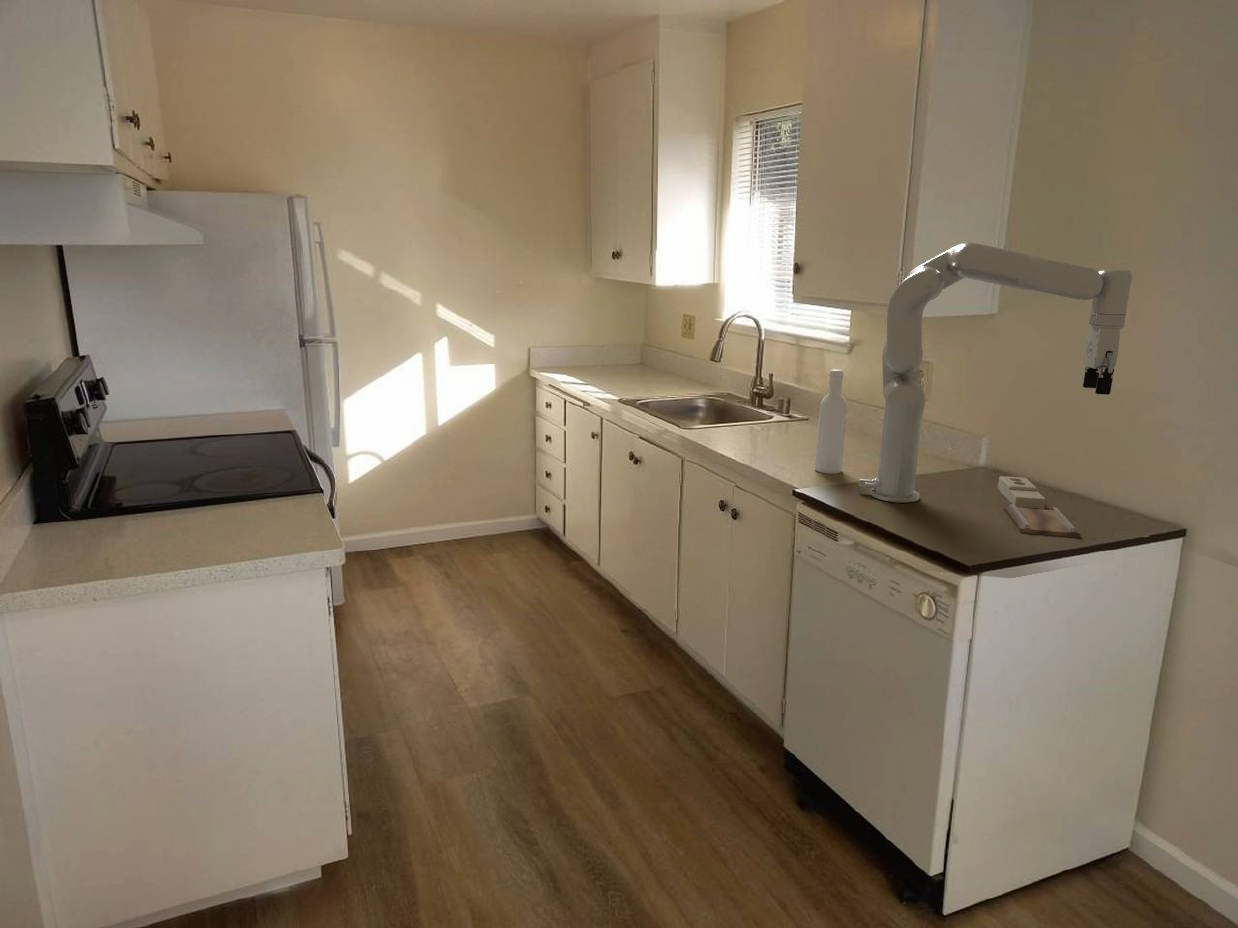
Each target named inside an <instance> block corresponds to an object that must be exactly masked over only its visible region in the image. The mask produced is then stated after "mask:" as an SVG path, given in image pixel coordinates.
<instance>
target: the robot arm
mask: <svg viewBox="0 0 1238 928" xmlns="http://www.w3.org/2000/svg"><path fill="white" fill-rule="evenodd" d="M965 278H966V279H971V280H975V281H980V282H984V283H987V284H988V283H989V284H994V285H999V286H1003V287H1008V288H1013V289H1017V290H1022V291H1023V290H1025V291H1033V292H1034V291H1035V292H1041V293H1044V294H1050V295H1055V296H1059V297H1064V298H1069V299H1073V300H1077V301H1089V300H1092V301H1091V308H1090V315H1089V322H1088V327H1089V331H1088V334H1087V337H1086V338H1087V340H1086V343H1085V347H1084V354H1083V356H1082V357H1083V358H1082V363H1083V364H1084V365H1085V368H1084V377H1083V384H1082V387H1083V388H1085V389H1095V391H1094V392H1095V393H1094V394H1096V395H1108V396H1109V395H1111V391H1112V384H1113V379H1114V373H1115V367H1116V365H1117V362H1118V361H1117V360H1118V355H1119V346H1120V340H1121V339H1120V338H1121V336H1120V335H1121V329H1124V328H1125V322H1126V316H1127V310H1128V304H1129V299H1130V291H1131V287H1132V281H1133V280H1132V279H1133V274H1132V272H1131V271H1130V270H1128V269H1123V268H1122V269H1120V268H1119V269H1117V268H1104V269H1093V268H1089V267H1086V266H1080V265H1077V264H1071V263H1066V262H1061V261H1057V260H1052V259H1048V258H1043V257H1040V256H1037V255H1033V254H1030V253H1026V252H1021V251H1016V250H1010V249H1005V248H1000V247H996V246H993V245H992V246H991V245H986V244H981V243H978V242H976V243H975V242H962V243H958V244H957V245H955V246H953V247H951V248H950V249H947V250H946V251H944V252H942V253H940V254H939V255H936V256H935V257H933V258H931V259H930V260H927V261H926V262H924V263H922V264H920V265H918V266H917V267H915V268H913V269H912V270H911V271H910V272H909V273H908V274H907V276H906V277H905V279H904V280H902V281H901V283H899V285H898V286H896V288H895V290H894V291H893V293H892V295H891V297H890V299H889V303H888V306H887V314H886V342H884V343H885V344H884V346H883V349H882V359H881V361H882V393H883V399H884V401H885V404H884V405H885V408H884V414H883V415H884V416H883V421H882V422H883V423H882V429H881V442H880V443H881V444H880V452H879V453H880V454H879V464H878V472H877V473H878V474H877V475H876V476H875V478H871V479H867V478H859V482H858V483H859V484H858V485H859V486H860V487H864V488H870V493H869V494H870V495H871V496H872V497H873V498H875V499H877V500H881V501H884V502H890V503H891V502H892V503H913V502H917V501H919V500H920V497H921V495H920V493H919V492H918V491H916V490H915V486H916V475H917V467H918V460H919V459H918V458H919V447H920V438H921V431H922V423H923V417H924V413H925V406H926V396H925V391H924V389H923V387H922V385H921V381H920V379H921V377H920V372H921V371H920V366H921V364H922V363H923V357H924V351H923V338H922V337H923V336H922V335H923V332H922V329H923V313H924V310H925V307H926V306H927V305H928V303H929V302H931V301H933V300H935V299H936V298H937V297H939V296H940V294H941V293H942V291H943V290H945V289H948V288H949V287H951V286H952V285H954V284H955V283H957V282H960V281H961V280H963V279H965Z"/></svg>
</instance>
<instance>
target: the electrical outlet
mask: <svg viewBox="0 0 1238 928" xmlns="http://www.w3.org/2000/svg"><path fill="white" fill-rule="evenodd" d="M997 490H999V492H1000V493H1001V494H1002V495H1003V496H1004V497H1005V499H1007V501H1008V502H1009V503H1010V502H1011V503H1012V504H1014V505H1015V506H1016V507H1017V508H1030V509H1033V508H1038V509H1043V510H1045V506H1046V498H1045V497H1044V495H1042V494H1041V493H1040V492H1039V490H1038V487H1037V486H1035V484H1033V482H1031V480H1029V479H1028V478H1027V477H1020V476H1007V475H1006V476H1003V475H1002V476H1001V475H1000V476H999V477H998V483H997ZM1011 503H1010V504H1011Z"/></svg>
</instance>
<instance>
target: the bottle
mask: <svg viewBox="0 0 1238 928" xmlns="http://www.w3.org/2000/svg"><path fill="white" fill-rule="evenodd" d="M828 376H829V381H828V382H829V383H828V393H827V394H826V395H825V396H823V398H822V399H821V402H820V404H819V412H818V413H819V415H818V416H819V417H818V426H817V427H818V428H817V441H816V453H815V454H816V455H815V459H814V461H815V462H814V465H815V466H814V470H815V471H816V472H819V473H821V474H829V475H831V474H832V475H833V474H834V475H835V474H836V475H837V474H840V473H842V471H843V467H844V466H843V465H844V451H845V439H846V429H847V428H846V427H847V418H848V417H847V416H848V408H849V407H848V402H847V399H846V398H845V397H844V396H843V395H842V389H843V388H842V387H843V377H844V370H842V369H838V368H833V369H830V371H829V375H828Z"/></svg>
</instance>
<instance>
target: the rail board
mask: <svg viewBox="0 0 1238 928" xmlns="http://www.w3.org/2000/svg"><path fill="white" fill-rule="evenodd" d="M1003 511H1004V512H1005V514H1006V515H1007V517H1008V518H1009V519H1010V521H1011V522H1012V523H1013V525H1014V526H1015V528H1016V529H1017V531H1018V533H1023V534H1033V535H1045V536H1058V537H1070V538H1080V537H1081V533H1080V532H1079V530H1078V529H1077V528H1076V527H1075V526H1074V525H1073V524H1072V523H1071V521H1069V519H1068V518H1067V517H1066V516H1065V515H1064V513H1063V512H1061V510H1060V509H1059V508H1058V507H1056V506H1052V507H1051V509H1033V508H1017V507H1016V506H1015V505H1014V504H1011V503H1009V506H1004V509H1003Z"/></svg>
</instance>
